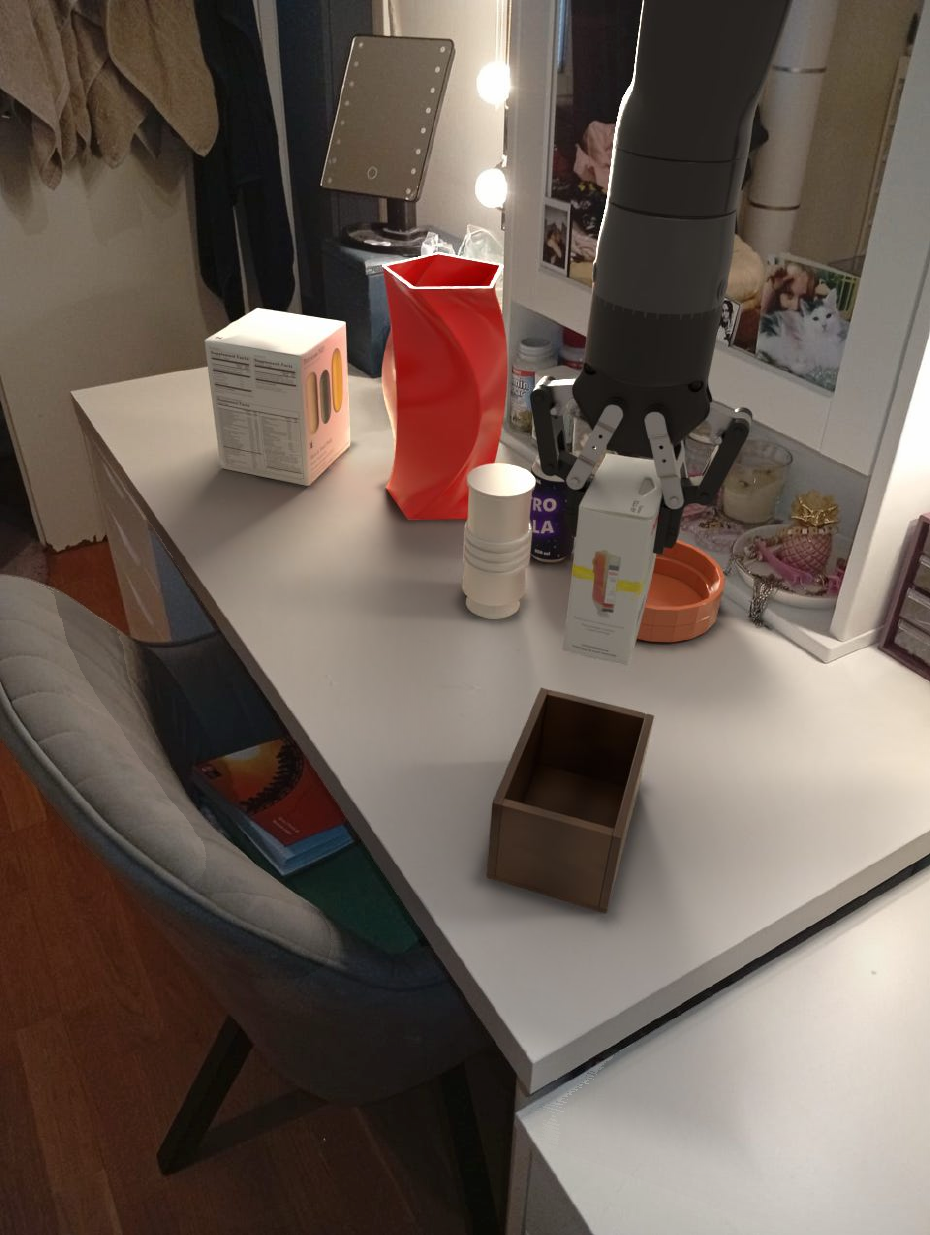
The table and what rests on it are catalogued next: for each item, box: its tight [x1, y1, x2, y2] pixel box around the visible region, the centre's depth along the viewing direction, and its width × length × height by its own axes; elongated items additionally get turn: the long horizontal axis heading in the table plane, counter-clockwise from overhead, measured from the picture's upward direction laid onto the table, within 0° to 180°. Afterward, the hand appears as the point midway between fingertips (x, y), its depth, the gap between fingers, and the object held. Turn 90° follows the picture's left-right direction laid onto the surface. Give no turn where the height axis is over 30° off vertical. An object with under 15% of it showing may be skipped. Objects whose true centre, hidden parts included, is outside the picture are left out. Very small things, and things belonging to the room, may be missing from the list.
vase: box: [381, 252, 509, 521], centre depth 111 cm, size 15×14×28 cm
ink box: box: [562, 452, 664, 666], centre depth 64 cm, size 9×5×12 cm, turn 161°
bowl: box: [636, 539, 726, 643], centre depth 100 cm, size 14×14×4 cm
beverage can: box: [529, 453, 578, 563], centre depth 105 cm, size 6×6×12 cm
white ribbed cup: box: [461, 462, 535, 620], centre depth 96 cm, size 7×7×15 cm
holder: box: [486, 687, 655, 914], centre depth 73 cm, size 9×13×8 cm
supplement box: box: [204, 307, 351, 487], centre depth 121 cm, size 13×13×18 cm
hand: (618, 539), depth 63 cm, fingers closed on ink box, 5 cm apart
